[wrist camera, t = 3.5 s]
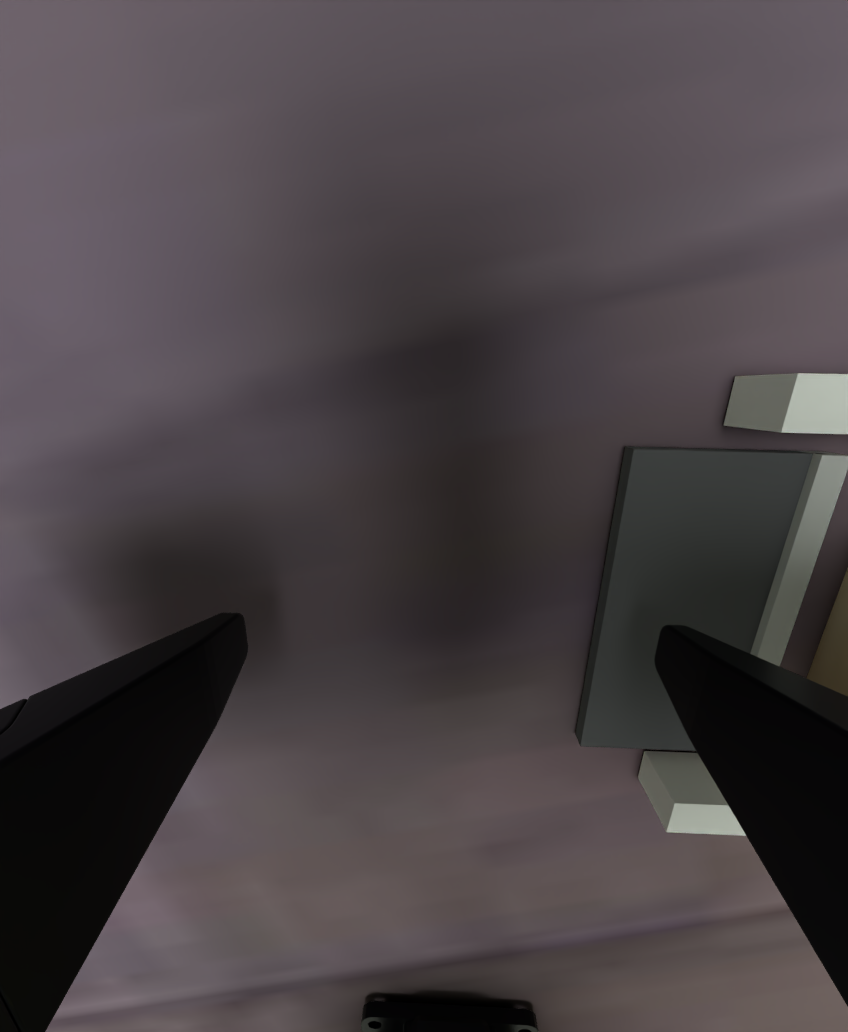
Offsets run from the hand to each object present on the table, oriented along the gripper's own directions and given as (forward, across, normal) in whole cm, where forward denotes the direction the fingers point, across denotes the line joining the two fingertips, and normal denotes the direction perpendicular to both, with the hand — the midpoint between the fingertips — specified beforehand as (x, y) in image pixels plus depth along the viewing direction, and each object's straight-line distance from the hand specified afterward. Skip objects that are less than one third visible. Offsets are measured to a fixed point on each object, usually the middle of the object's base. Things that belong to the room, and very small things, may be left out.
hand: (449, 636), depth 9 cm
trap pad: (+2, -6, 0) cm, 6 cm away
